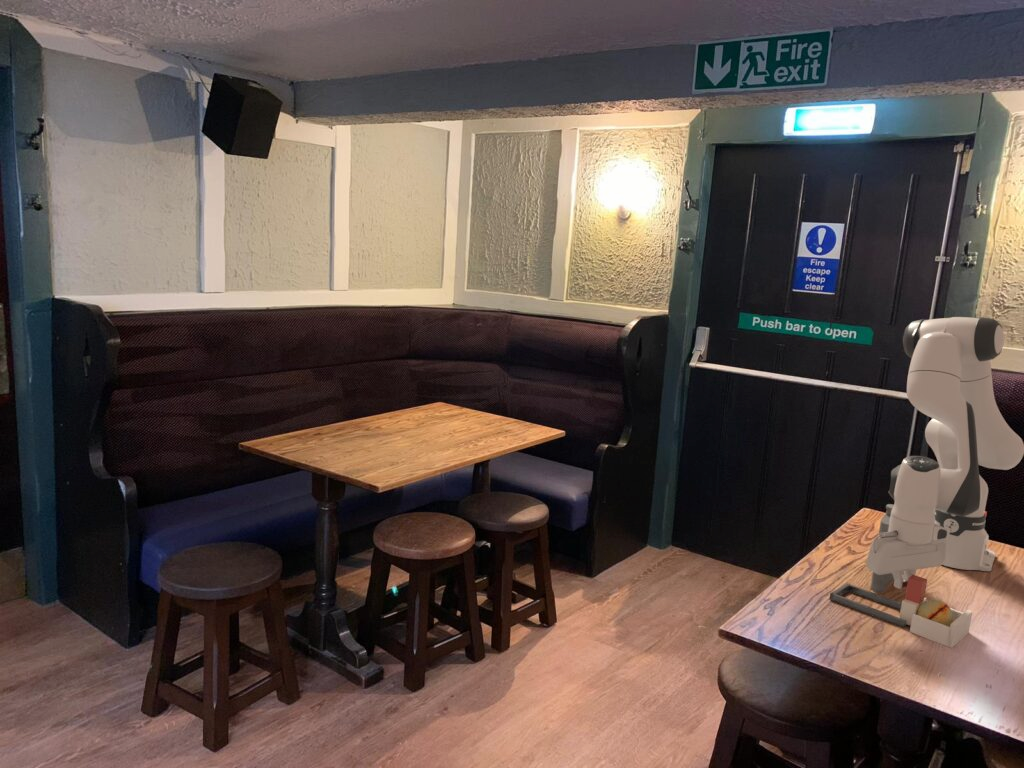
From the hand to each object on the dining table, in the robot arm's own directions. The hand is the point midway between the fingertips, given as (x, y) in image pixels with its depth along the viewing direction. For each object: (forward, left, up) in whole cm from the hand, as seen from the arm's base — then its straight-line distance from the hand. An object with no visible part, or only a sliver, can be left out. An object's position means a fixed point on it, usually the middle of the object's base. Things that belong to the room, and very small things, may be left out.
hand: (901, 587), depth 176 cm
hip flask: (-17, -10, -7) cm, 21 cm away
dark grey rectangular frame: (0, -5, -7) cm, 9 cm away
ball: (+1, +8, -7) cm, 11 cm away
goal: (0, +9, -7) cm, 11 cm away
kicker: (0, +3, -7) cm, 8 cm away
